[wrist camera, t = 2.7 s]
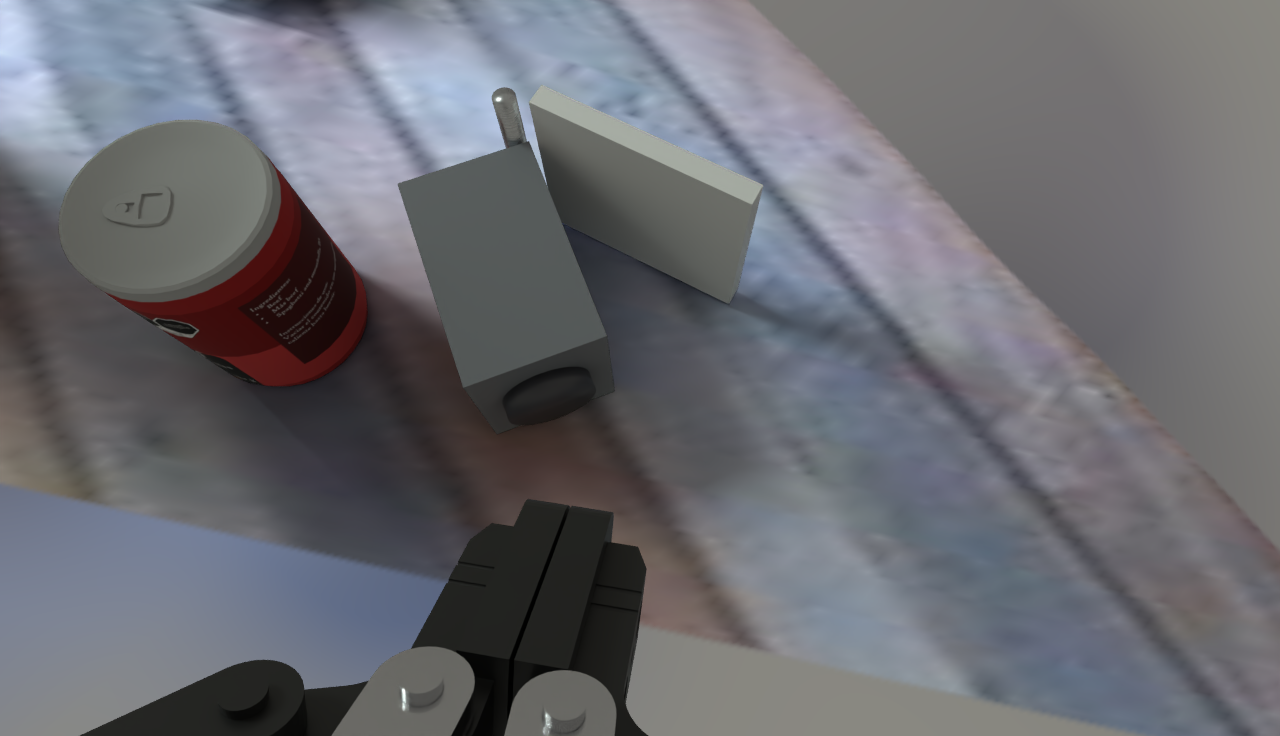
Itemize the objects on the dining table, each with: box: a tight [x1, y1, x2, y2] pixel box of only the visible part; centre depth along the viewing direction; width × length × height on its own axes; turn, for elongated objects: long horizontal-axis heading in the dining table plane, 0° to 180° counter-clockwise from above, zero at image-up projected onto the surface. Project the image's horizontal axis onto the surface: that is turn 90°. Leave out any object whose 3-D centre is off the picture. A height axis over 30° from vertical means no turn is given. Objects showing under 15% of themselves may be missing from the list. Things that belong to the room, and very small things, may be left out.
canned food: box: [58, 120, 368, 386], centre depth 34 cm, size 8×8×11 cm
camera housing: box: [398, 88, 615, 434], centre depth 34 cm, size 12×6×9 cm, turn 21°
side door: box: [529, 85, 763, 304], centre depth 35 cm, size 10×2×9 cm, turn 61°
